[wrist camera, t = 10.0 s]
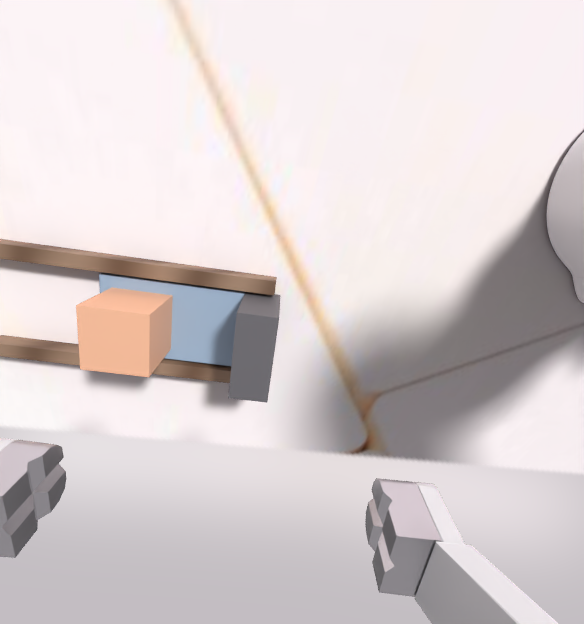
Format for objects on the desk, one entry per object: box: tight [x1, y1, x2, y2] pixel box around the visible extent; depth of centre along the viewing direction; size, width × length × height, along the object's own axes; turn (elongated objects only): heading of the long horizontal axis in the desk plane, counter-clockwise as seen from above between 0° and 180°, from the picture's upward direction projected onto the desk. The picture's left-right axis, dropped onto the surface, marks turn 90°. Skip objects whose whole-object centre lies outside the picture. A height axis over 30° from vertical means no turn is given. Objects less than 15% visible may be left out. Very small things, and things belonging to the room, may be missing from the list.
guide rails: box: [0, 239, 276, 383], centre depth 29 cm, size 24×10×2 cm, turn 82°
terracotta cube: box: [76, 287, 173, 377], centre depth 26 cm, size 5×5×5 cm
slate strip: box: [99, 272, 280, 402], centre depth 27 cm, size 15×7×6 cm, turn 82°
